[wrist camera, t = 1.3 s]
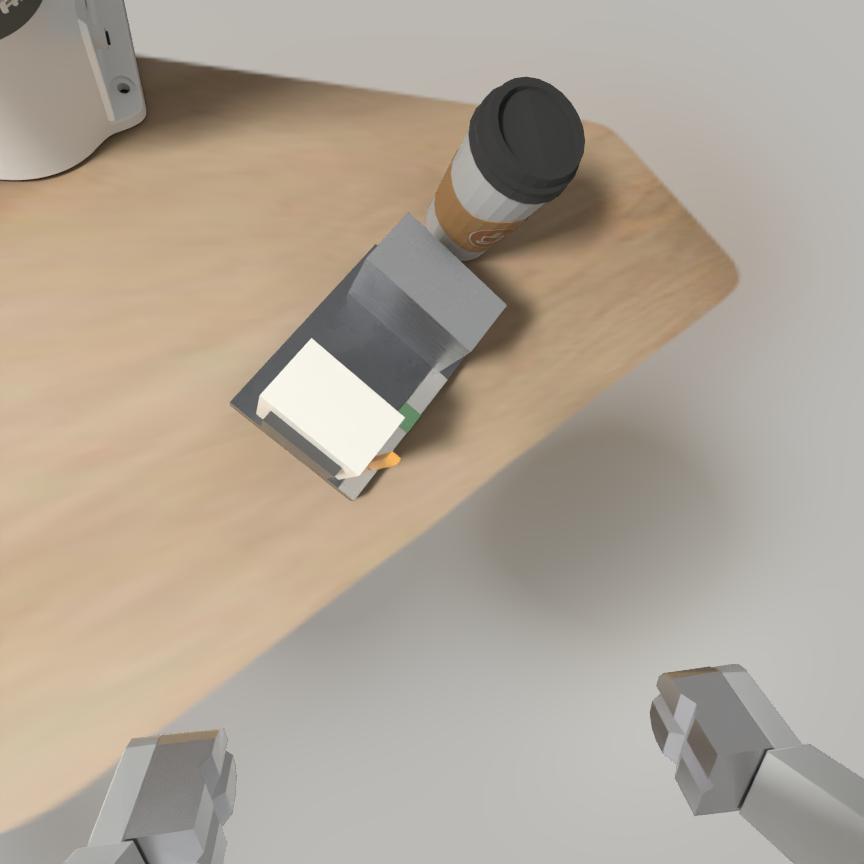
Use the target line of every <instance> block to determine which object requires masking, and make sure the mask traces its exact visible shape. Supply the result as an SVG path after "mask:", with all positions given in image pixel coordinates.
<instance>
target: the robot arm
mask: <svg viewBox="0 0 864 864" xmlns="http://www.w3.org/2000/svg"><path fill="white" fill-rule="evenodd" d="M121 90H128V91H129V92H128V93H126V94H124V93H121V92H120V91H121ZM145 116H146V105H145V100H144V95H143V91H142V86H141V81H140V76H139V71H138V67H137V62H136V57H135V52H134V48H133V43H132V38H131V33H130V28H129V23H128V18H127V14H126V9H125V4H124V0H0V179H1V180H27V179H36V178H42V177H46V176H50V175H54V174H57V173H60V172H62V171H65V170H67V169H69V168H71V167H73V166H75V165H77V164H78V163H80V162H81V161H83V160H84V159H85V158H87V157H88V156H89V155H90V154H91V153H93V152H94V151H95V149H96V148H97V147H98V146H99V145H100V144H101V143H102V142H103V141H104V140H105V139H107V138H108V137H109V136H110V135H112V134H114V133H117V132H120V131H123V130H125V129H128V128H131V127H133V126H135V125H137V124H139V123H140V122H142V121H143V120H144V118H145ZM657 687H658V689H659V691H660V693H661V694H660V695H658V696H657V697H656V698H655V699H654V700H653V701H652V705H651V710H650V718H651V725H652V730H653V732H654V735H655V738H656V741H657V743H658V745H659V747H660V749H661V751H662V753H663V754H664V755H665V756H667V757H668V758H669V759H670V760H672V761H673V762H674V763H675V764H677V765H676V773H675V779H676V781H677V783H678V785H679V787H680V789H681V791H682V793H683V795H684V797H685V799H686V800H687V802H688V804H689V806H690V808H691V810H692V812H693V814H694V816H698V815H706V814H714V813H723V812H731V811H740V812H739V814H740V815H741V816H742V817H744V818H745V819H746V820H747V821H748V822H749V823H750V824H751V825H752V826H753V827H755V828H756V829H757V830H758V831H759V832H760V833H761V834H762V835H763V836H764V837H765V838H766V839H768V840H769V841H770V842H771V843H772V844H773V845H774V846H775V847H776V848H778V850H780V851H781V852H782V853H783V854H784V855H785V856H786V857H787V858H788V859H789V860H790V861H792V862H793V863H794V864H864V779H863V778H862V777H860V776H858V775H857V774H856V773H854V772H852V771H851V770H849V769H848V768H846V767H845V766H843V765H842V764H840V763H838V762H837V761H835V760H834V759H832V758H831V757H829V756H828V755H826V754H825V753H823V752H822V751H820V750H819V749H817V748H815V747H814V746H812V745H811V744H808V745H802V743H801V742H800V741H799V739H798V738H797V737H796V735H795V734H794V733H793V731H792V730H791V729H790V727H789V726H788V725H787V723H786V722H785V721H784V719H783V718H782V717H781V715H780V714H779V713H778V711H777V710H776V709H775V707H774V706H773V705H772V704H771V702H770V701H769V699H768V698H767V697H766V695H765V694H764V693H763V692H762V690H761V689H760V688H759V686H758V685H757V684H756V682H755V681H754V680H753V678H752V677H751V676H750V674H749V673H748V672H747V670H746V669H744V668H743V667H742V666H740V665H738V664H731V665H724V666H717V667H704V668H697V669H690V670H683V671H676V672H669V673H663V674H662V675H661V676H659V679H658V682H657ZM227 742H228V738H227V736H226V733H225V731H224V729H214V730H205V731H196V732H188V733H179V734H169V735H157V736H149V737H142V738H134V739H131V741H130V742H129V744H128V745H127V747H126V748H125V749H124V751H123V754H122V756H121V759H120V762H119V764H118V767H117V769H116V772H115V775H114V777H113V780H112V782H111V785H110V788H109V791H108V793H107V796H106V798H105V801H104V803H103V806H102V808H101V811H100V813H99V816H98V819H97V821H96V824H95V826H94V829H93V832H92V835H91V837H90V839H89V842H88V845H87V846H86V847H80V848H77V849H76V850H75V851H74V852H73V853H72V854H71V856H69V857H68V858H67V860H66V861H65V862H64V863H63V864H223V861H224V856H225V850H226V845H227V841H226V838H225V835H224V832H223V829H222V826H223V825H224V824H225V822H226V821H227V820H228V819H229V817H230V816H231V815H232V813H233V807H234V801H235V796H236V777H237V775H236V766H235V761H234V757H233V755H232V754H230V753H229V752H227V751H226V747H227Z"/></svg>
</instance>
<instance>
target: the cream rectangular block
mask: <svg viewBox="0 0 864 864" xmlns="http://www.w3.org/2000/svg"><path fill="white" fill-rule="evenodd" d="M256 414H257V415H258V416H259V417H260V418H262V419H263V420H262V424H261V427H260V429H261V430H262V431H263V432H264V433H266V434H267V435H268V436H270V437H271V438H272V439H273V440H275V441H276V442H277V443H278V444H280V445H281V446H282V447H283V448H285V449H286V450H287V451H288V452H290V453H291V454H292V455H293V456H295V457H296V458H297V459H299V460H300V461H301V462H302V463H304V464H305V465H306V466H307V467H309V468H310V469H311V470H312V471H314V472H315V473H316V474H317V475H319V476H320V477H321V478H322V479H328V478H333V477H336V478H337V479H338V480H340V479H345V478H351V477H357V476H360V475H361V473H362V472H363V471H364V469H365V468H366V467H367V466H368V467H369V468H370V469H371V470H376V469H381V468H386V467H391V466H396V465H397V463H398V462H399V461H400V460H401V458H400V457H399V456H398V455H396V454H395V453H394V452H393V451H391V452H388V453H384V454H381V455H378V456H375V455H376V454H377V453H378V452H379V450H380V449H381V448H382V447H383V445H384V444H385V443H386V441H387V440H388V439H389V438H390V436H391V435H392V434H393V432H394V431H395V430H396V429H397V427H398V426H399V425H400V424H401V422H402V421H403V420H404V418H405V417H404V416H403V415H401V414H400V413H399V412H398V411H397V410H396V409H394V408H393V407H392V406H391V405H390V404H388V403H387V402H386V401H385V400H384V399H383V398H381V397H380V396H379V395H378V394H377V393H376V392H374V391H373V390H372V389H371V388H370V387H368V386H367V385H366V384H365V383H364V382H363V381H361V380H360V379H359V378H358V377H357V376H356V375H354V374H353V373H352V372H351V371H350V370H348V369H347V368H346V367H345V366H344V365H343V364H341V363H340V362H339V361H338V360H337V359H336V358H334V357H333V356H332V355H331V354H330V353H329V352H327V351H326V350H325V349H324V348H323V347H321V346H320V345H319V344H318V343H317V342H316V341H314V340H313V339H312V338H311V339H310V340H309V341H308V342H307V343H306V345H305V346H304V347H303V348H302V349H301V350H300V351H299V352H298V353H297V355H296V356H295V357H294V358H293V359H292V360H291V361H290V362H289V363H288V364H287V366H286V367H285V368H284V369H283V370H282V371H281V372H280V373H279V374H278V376H277V377H276V378H275V379H274V380H273V381H272V382H271V383H270V384H269V385H268V387H267V388H266V389H265V390H264V391H263V392H262V393H261V394H260V396H259V401H258V406H257V411H256Z"/></svg>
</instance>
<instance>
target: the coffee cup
mask: <svg viewBox="0 0 864 864" xmlns="http://www.w3.org/2000/svg"><path fill="white" fill-rule="evenodd" d="M584 145H585V138H584V130H583V126H582V123H581V121H580V118H579V116H578V113H577V112H576V110H575V108H574V107H573V106H572V104H571V102H570V101H569V100H568V99H567V98H566V97H565V96H564V94H563V93H562V92H560V91H559V90H558V89H556V88H555V87H554V86H552V85H551V84H549V83H547V82H544V81H542V80H540V79H536V78H530V77H521V78H514V79H512V80H510V81H508V82H506V83H504V84H503V85H502V86H500V87H498V88H496V89H494V90H492V91H491V92H490V94H489V95H488V96H487V97H486V98H485V99H484V100H483V101H482V103H481V104H480V105H479V106H478V107H477V108H476V110H475V112H474V114H473V116H472V118H471V120H470V127H469V130H468V132H467V134H466V136H465V138H464V140H463V142H462V144H461V146H460V147H459V149H458V150H457V151H456V153H455V155H454V157H453V159H452V161H451V163H450V165H449V167H448V169H447V171H446V173H445V175H444V177H443V179H442V181H441V183H440V185H439V187H438V189H437V192H436V194H435V197H434V199H433V201H432V203H431V205H430V207H429V209H428V211H427V214H426V220H425V223H426V229H427V230H428V231H429V232H430V233H431V234H432V235H433V236H434V237H435V238H437V239H438V240H439V241H440V242H441V243H442V244H443V245H444V246H445V247H446V248H447V249H448V250H449V251H450V252H451V253H452V254H453V255H454V256H456V257H457V258H458V259H459V260H460V261H469V260H473V259H475V258H477V257H479V256H480V255H482V254H483V253H484V252H485V251H487V250H488V249H489V248H491V247H492V246H494V245H495V244H497V243H498V242H499V241H500V240H502V239H503V238H504V237H505V236H507V235H508V234H509V233H510V232H512V231H513V230H514V229H516V228H517V227H518V226H519V225H521V224H522V223H523V222H524V221H526V220H527V219H528V218H529V216H530V215H531V214H532V213H534V212H535V211H536V210H537V209H539V208H540V207H541V206H542V205H544V204H545V203H546V202H549V201H551V200H553V199H554V198H556V197H558V196H559V195H560V194H561V193H562V191H563V190H564V189H565V188H566V187H567V185H568V184H569V182H570V181H571V180H572V179H573V178H574V176H575V174H576V172H577V169H578V167H579V163H580V161H581V158H582V156H583V153H584Z"/></svg>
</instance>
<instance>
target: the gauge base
mask: <svg viewBox="0 0 864 864" xmlns="http://www.w3.org/2000/svg"><path fill="white" fill-rule="evenodd" d="M506 306H507V305H506V304H505V303H504V302H503V301H502V300H501V299H500V298H499V297H498V296H497V295H496V294H495V293H494V292H493V291H491V290H490V289H489V288H488V287H487V286H486V285H485V284H484V283H483V282H482V281H481V280H480V279H479V278H478V277H477V276H476V275H475V274H474V273H472V272H471V271H470V270H469V269H468V268H467V267H466V266H465V265H464V264H463V263H462V262H461V261H460V260H459V259H458V258H457V257H456V256H454V255H453V254H452V253H451V252H450V251H449V250H448V249H447V248H446V247H445V246H444V245H443V244H442V243H441V242H440V241H439V240H438V239H437V238H435V237H434V236H433V235H432V234H431V233H430V232H429V231H428V230H427V229H426V228H425V227H424V226H423V225H422V224H421V223H420V222H419V221H418V220H416V219H415V218H414V217H413V216H412V215H411V214H410V213H409V212H408V213H407V214H406V215H405V216H404V217H403V218H402V220H401V221H400V222H399V223H398V224H397V225H396V226H395V227H394V228H393V229H392V230H391V232H390V233H389V234H388V235H387V236H386V237H385V238H384V239H383V240H382V241H381V242H380V244H379V245H378V246H377V245H376V244H375V245H374V247H373V248H372V249H371V250H370V251H369V252H368V253H367V254H366V255H365V256H364V257H363V258H362V260H361V261H360V262H359V263H358V264H357V265H356V266H355V267H354V268H353V269H352V270H351V271H350V273H349V274H348V275H347V276H346V277H345V278H344V279H343V280H342V281H341V282H340V283H339V284H338V286H337V287H336V288H335V289H334V290H333V291H332V292H331V293H330V294H329V295H328V296H327V298H326V299H325V300H324V301H323V302H322V303H321V304H320V305H319V306H318V307H317V308H316V309H315V311H314V312H313V313H312V314H311V315H310V316H309V317H308V318H307V319H306V320H305V321H304V322H303V324H302V325H301V326H300V327H299V328H298V329H297V330H296V331H295V332H294V333H293V334H292V335H291V337H290V338H289V339H288V340H287V341H286V342H285V343H284V344H283V345H282V346H281V347H280V348H279V350H278V351H277V352H276V353H275V354H274V355H273V356H272V357H271V358H270V359H269V360H268V362H267V363H266V364H265V365H264V366H263V367H262V368H261V369H260V370H259V371H258V372H257V373H256V375H255V376H254V377H253V378H252V379H251V380H250V381H249V382H248V383H247V384H246V385H245V386H244V388H243V389H242V390H241V391H240V392H239V393H238V394H237V395H236V396H235V397H234V398H233V399H232V401H231V402H230V406H232V407H233V408H234V409H235V410H237V411H238V412H239V413H240V414H242V415H243V416H244V417H245V418H247V419H248V420H249V421H251V422H252V423H253V424H254V425H256V426H257V427H258V428H259V429H260V427H261V424H262V420H263V419H262V418H260V417H259V416H258V415H257V414H256V411H257V406H258V401H259V396H260V394H261V393H262V392H263V391H264V390H265V389H266V388H267V387H268V385H269V384H270V383H271V382H272V381H273V380H274V379H275V378H276V377H277V376H278V374H279V373H280V372H281V371H282V370H283V369H284V368H285V367H286V366H287V364H288V363H289V362H290V361H291V360H292V359H293V358H294V357H295V356H296V355H297V353H298V352H299V351H300V350H301V349H302V348H303V347H304V346H305V345H306V343H307V342H308V341H309V340H310V339H311V338H312V339H313V340H314V341H316V342H317V343H318V344H319V345H320V346H321V347H323V348H324V349H325V350H326V351H327V352H329V353H330V354H331V355H332V356H333V357H334V358H336V359H337V360H338V361H339V362H340V363H341V364H343V365H344V366H345V367H346V368H347V369H348V370H350V371H351V372H352V373H353V374H354V375H356V376H357V377H358V378H359V379H360V380H361V381H363V382H364V383H365V384H366V385H367V386H368V387H370V388H371V389H372V390H373V391H374V392H376V393H377V394H378V395H379V396H380V397H381V398H383V399H384V400H385V401H386V402H387V403H388V404H390V405H391V406H392V407H393V408H394V409H396V410H397V411H398V412H399V413H400V414H401V415H403V416H404V417H405V418H404V420H403V421H402V422H401V424H400V425H399V426H398V427H397V429H396V430H395V431H394V432H393V434H392V435H391V436H390V438H389V439H388V440H387V441H386V443H385V444H384V445H383V447H382V448H381V449H380V450H379V452H378V453H377V454H376V455H375V456H378V455H381V454H384V453H388V452H391V451H393V450H394V448H395V447H396V446H397V445H398V443H399V442H400V441H401V439H402V438H403V437H404V436H405V434H406V433H408V431H409V430H410V429H411V428H412V426H413V425H414V424H415V422H416V421H417V420H418V419H419V417H420V416H421V414H422V412H423V411H424V410H425V408H426V407H427V406H428V405H429V403H430V402H431V401H432V399H433V398H434V397H435V396H436V394H437V393H438V392H439V390H440V389H441V388H442V387H443V385H444V384H445V383H446V381H447V380H448V378H449V377H450V376H451V374H452V373H453V372H454V370H455V369H456V368H457V367H458V365H459V364H460V363H461V361H462V360H463V359H464V358H465V356H466V355H467V354H469V353H470V352H471V351H472V350H473V349H474V347H475V346H476V345H477V343H478V342H479V341H480V340H481V338H482V337H483V336H484V334H485V333H486V332H487V330H488V329H489V328H490V327H491V325H492V324H493V323H494V321H495V320H496V319H497V318H498V316H499V315H500V314H501V312H502V311H503V310H504V309H505V307H506ZM269 437H270V436H269ZM274 441H275V440H274ZM298 460H299V459H298ZM303 464H304V463H303ZM377 470H378V469H376V470H371V469H370V468H369V467H368V466H367V467H366V468H365V469H364V471H363V472H362V473H361V475H360V476H357V477H351V478H345V479H340V480H338V479H337V478H336V477H333V478H328V479H324V480H325V481H326V482H327V483H329V484H330V485H331V486H332V487H334V488H335V489H336V490H338V491H339V492H340V493H341V494H343V495H344V496H345V497H346V498H348V499H349V500H353V501H354V500H355V499H356V497H357V496H358V495H359V494H360V492H361V491H362V490H363V488H364V487H365V486H366V485H367V483H368V482H369V481H370V479H371V478H372V477H373V476H374V474H375V473H376V472H377Z"/></svg>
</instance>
